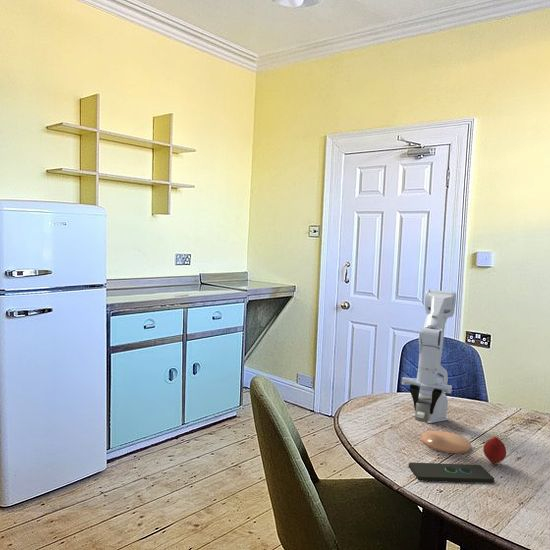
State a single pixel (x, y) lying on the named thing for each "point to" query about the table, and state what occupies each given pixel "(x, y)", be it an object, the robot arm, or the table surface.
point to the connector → (423, 409)
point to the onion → (494, 450)
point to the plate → (446, 442)
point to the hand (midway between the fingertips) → (423, 411)
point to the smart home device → (451, 472)
